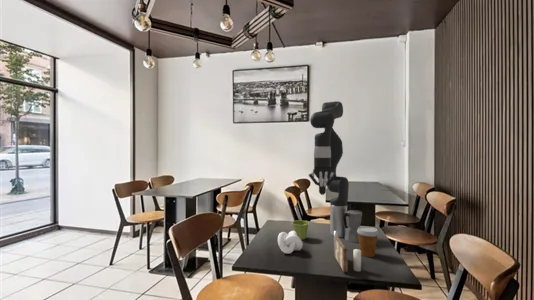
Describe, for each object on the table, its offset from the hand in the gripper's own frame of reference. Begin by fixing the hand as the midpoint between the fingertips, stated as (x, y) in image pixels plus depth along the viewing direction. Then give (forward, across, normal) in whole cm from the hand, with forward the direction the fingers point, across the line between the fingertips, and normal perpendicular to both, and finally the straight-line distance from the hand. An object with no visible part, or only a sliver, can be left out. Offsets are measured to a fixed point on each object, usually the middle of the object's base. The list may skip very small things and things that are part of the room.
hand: (322, 194), depth 133 cm
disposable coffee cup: (+29, +22, +2) cm, 36 cm away
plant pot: (+29, -6, +26) cm, 40 cm away
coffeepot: (+29, +21, +22) cm, 42 cm away
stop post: (+29, +11, -14) cm, 34 cm away
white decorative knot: (+29, -15, +8) cm, 33 cm away
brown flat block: (+28, +5, -10) cm, 30 cm away
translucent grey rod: (+29, +6, -1) cm, 29 cm away
